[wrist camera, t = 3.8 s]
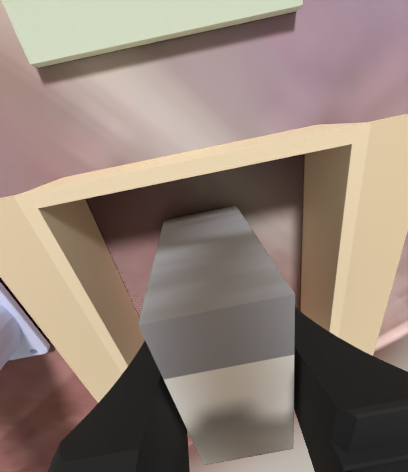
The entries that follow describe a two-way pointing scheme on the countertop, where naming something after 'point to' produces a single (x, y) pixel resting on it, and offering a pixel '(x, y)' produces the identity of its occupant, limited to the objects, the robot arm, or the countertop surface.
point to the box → (222, 335)
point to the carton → (198, 163)
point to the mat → (123, 23)
